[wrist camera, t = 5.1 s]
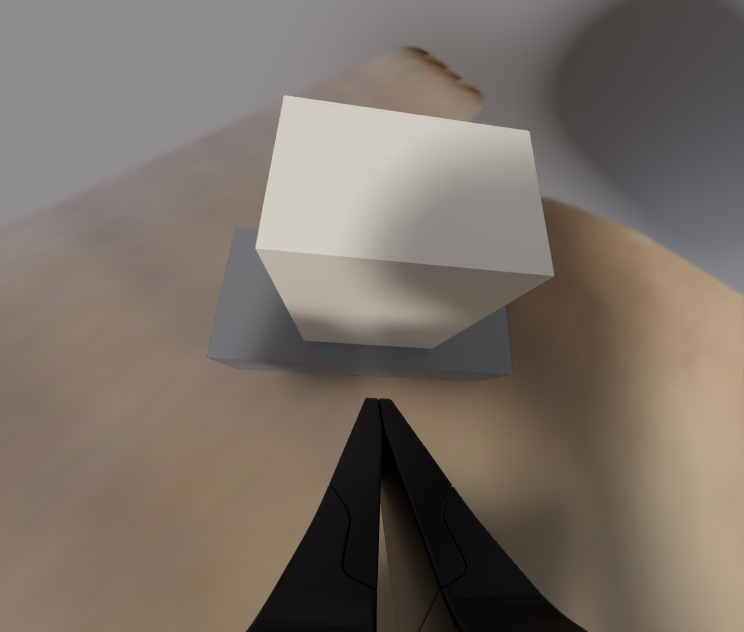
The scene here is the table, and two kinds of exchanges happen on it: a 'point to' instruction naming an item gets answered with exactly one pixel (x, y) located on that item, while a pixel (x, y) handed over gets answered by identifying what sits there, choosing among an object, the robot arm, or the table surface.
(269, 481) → the table surface
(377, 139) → the card box
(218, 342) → the plinth
